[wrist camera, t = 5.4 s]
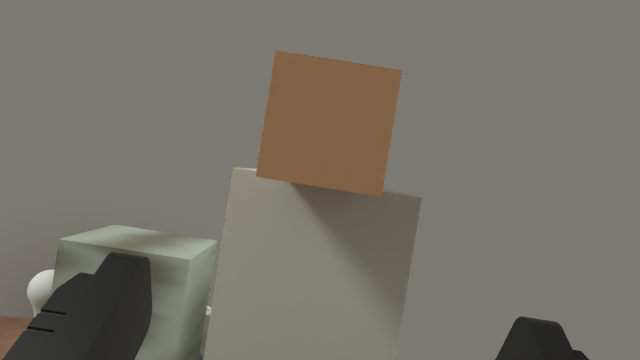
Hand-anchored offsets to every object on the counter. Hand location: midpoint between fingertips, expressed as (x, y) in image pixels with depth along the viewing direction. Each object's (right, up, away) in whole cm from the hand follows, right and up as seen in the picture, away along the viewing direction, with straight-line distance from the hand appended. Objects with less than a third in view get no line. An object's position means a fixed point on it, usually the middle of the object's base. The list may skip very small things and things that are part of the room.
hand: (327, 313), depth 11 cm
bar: (0, +3, +17) cm, 18 cm away
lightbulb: (-43, -22, +64) cm, 80 cm away
